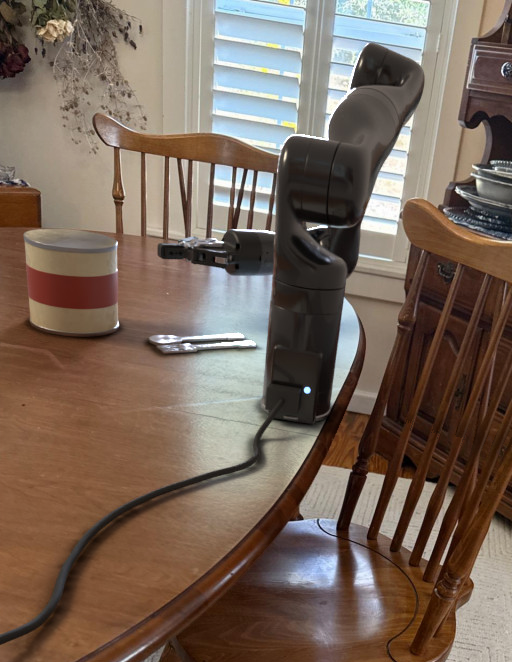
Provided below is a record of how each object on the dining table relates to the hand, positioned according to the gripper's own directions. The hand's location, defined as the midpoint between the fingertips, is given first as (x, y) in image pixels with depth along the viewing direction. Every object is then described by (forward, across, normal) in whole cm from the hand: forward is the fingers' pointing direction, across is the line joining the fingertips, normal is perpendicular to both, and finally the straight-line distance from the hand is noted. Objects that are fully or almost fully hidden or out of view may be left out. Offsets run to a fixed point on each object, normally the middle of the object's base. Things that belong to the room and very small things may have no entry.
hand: (159, 251), depth 125 cm
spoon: (-2, +11, +11) cm, 16 cm away
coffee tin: (+14, +1, +11) cm, 18 cm away
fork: (-2, +15, +11) cm, 19 cm away
